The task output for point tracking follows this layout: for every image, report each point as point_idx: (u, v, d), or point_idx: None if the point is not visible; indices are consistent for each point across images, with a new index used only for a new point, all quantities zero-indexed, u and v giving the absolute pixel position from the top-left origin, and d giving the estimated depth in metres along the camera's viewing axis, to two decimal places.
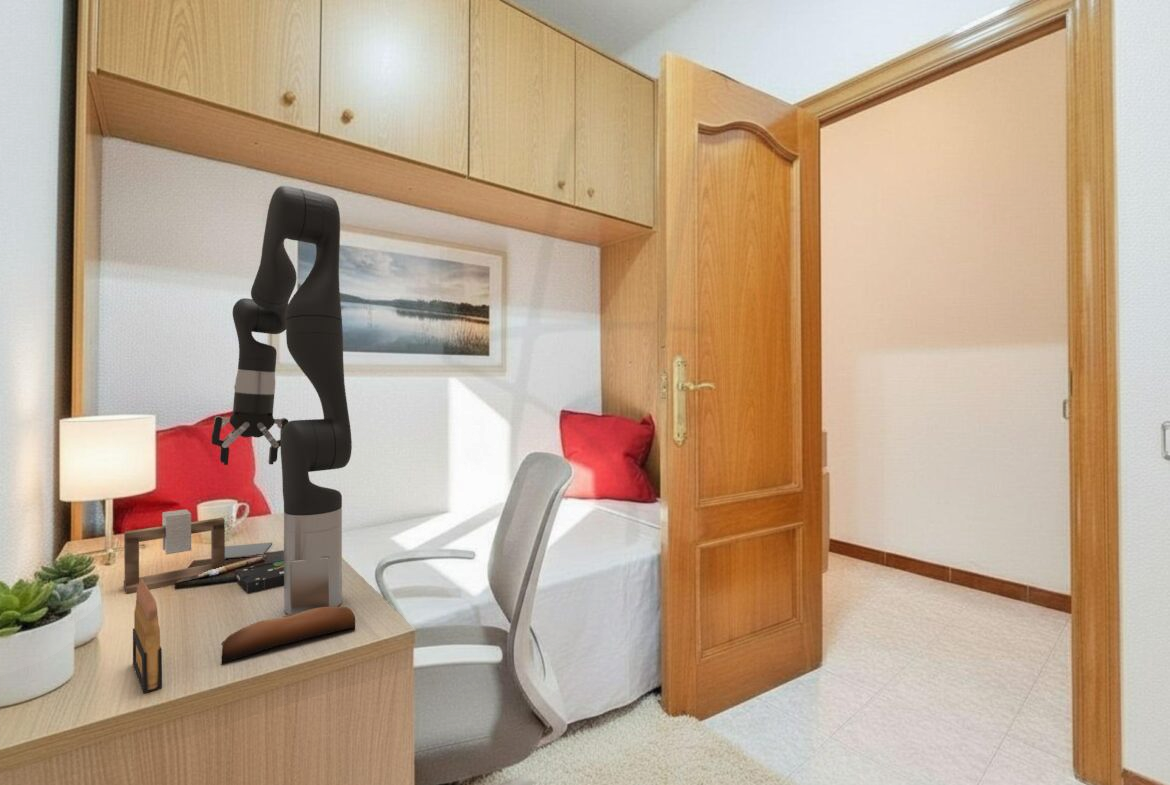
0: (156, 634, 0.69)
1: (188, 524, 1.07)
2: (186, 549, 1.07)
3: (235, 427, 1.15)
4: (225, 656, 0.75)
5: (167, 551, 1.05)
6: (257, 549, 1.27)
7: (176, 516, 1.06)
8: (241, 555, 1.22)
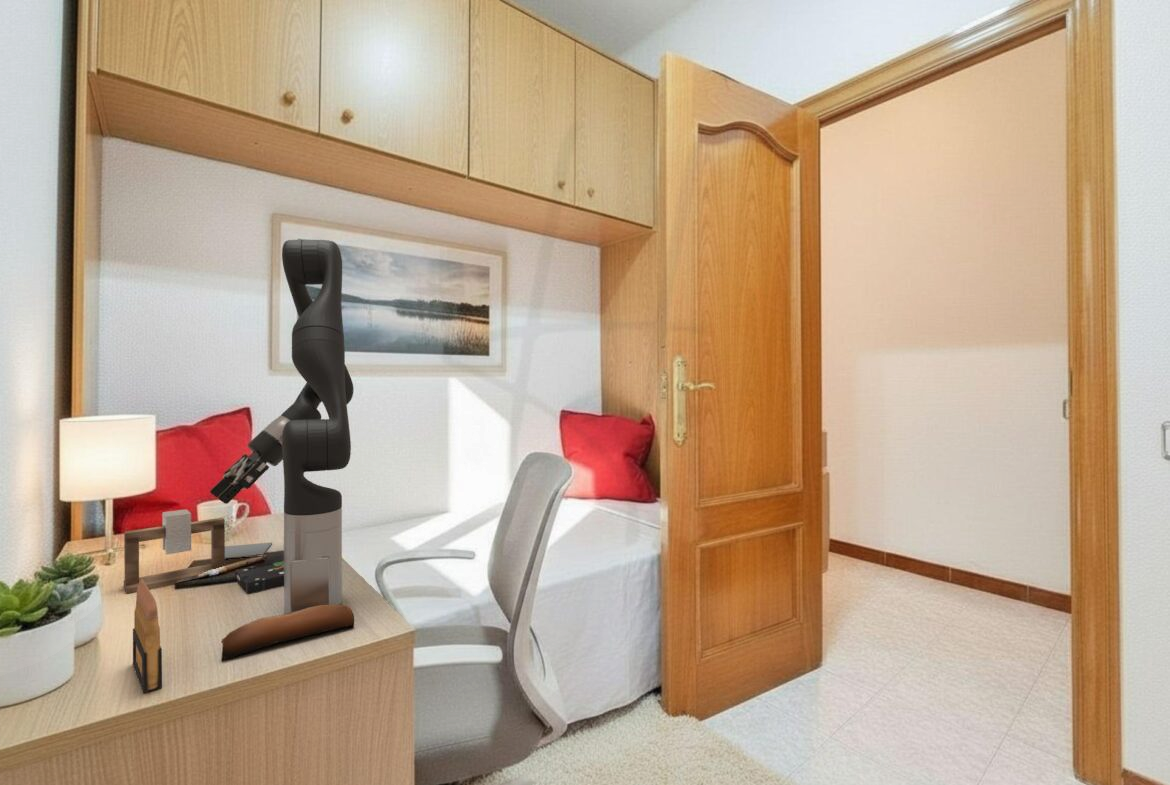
0: (156, 634, 0.69)
1: (188, 524, 1.07)
2: (186, 549, 1.07)
3: None
4: (225, 653, 0.76)
5: (167, 551, 1.05)
6: (257, 549, 1.27)
7: (176, 516, 1.06)
8: (241, 555, 1.22)
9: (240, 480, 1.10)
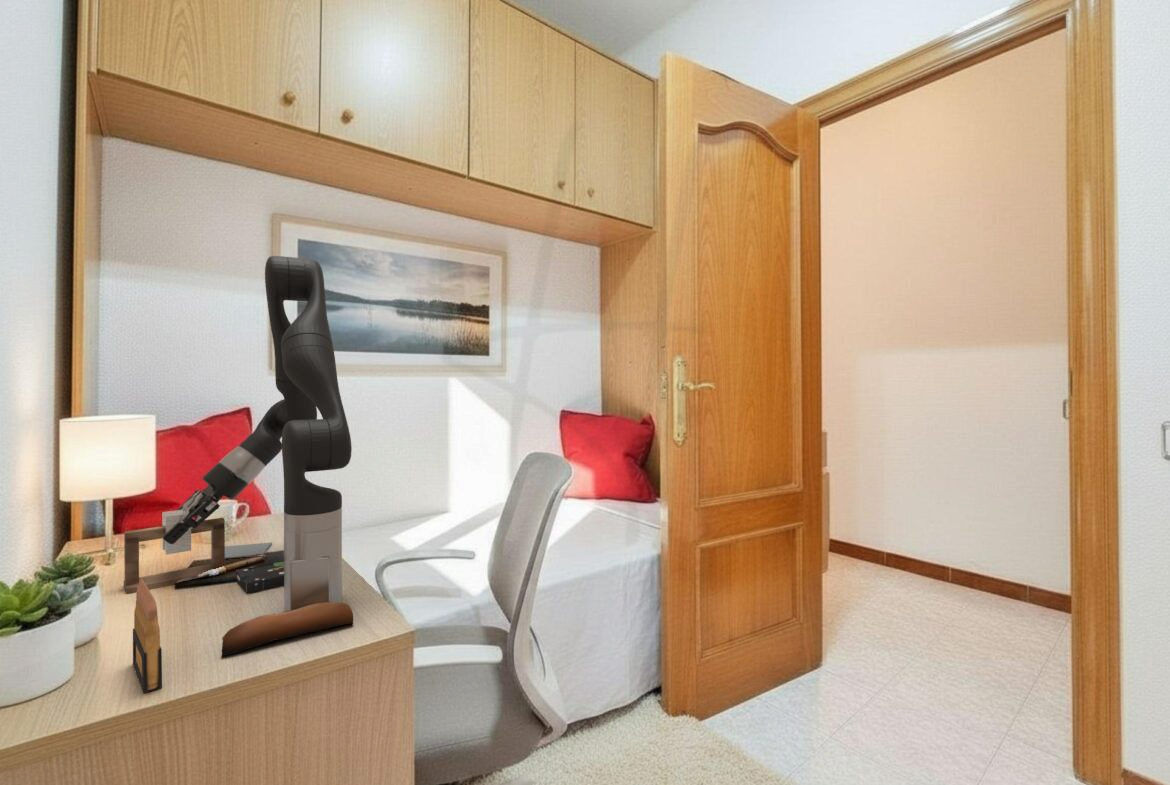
0: (156, 634, 0.69)
1: None
2: (186, 549, 1.07)
3: None
4: (225, 650, 0.77)
5: (167, 551, 1.05)
6: (257, 549, 1.27)
7: (176, 516, 1.06)
8: (241, 555, 1.22)
9: (186, 520, 1.05)
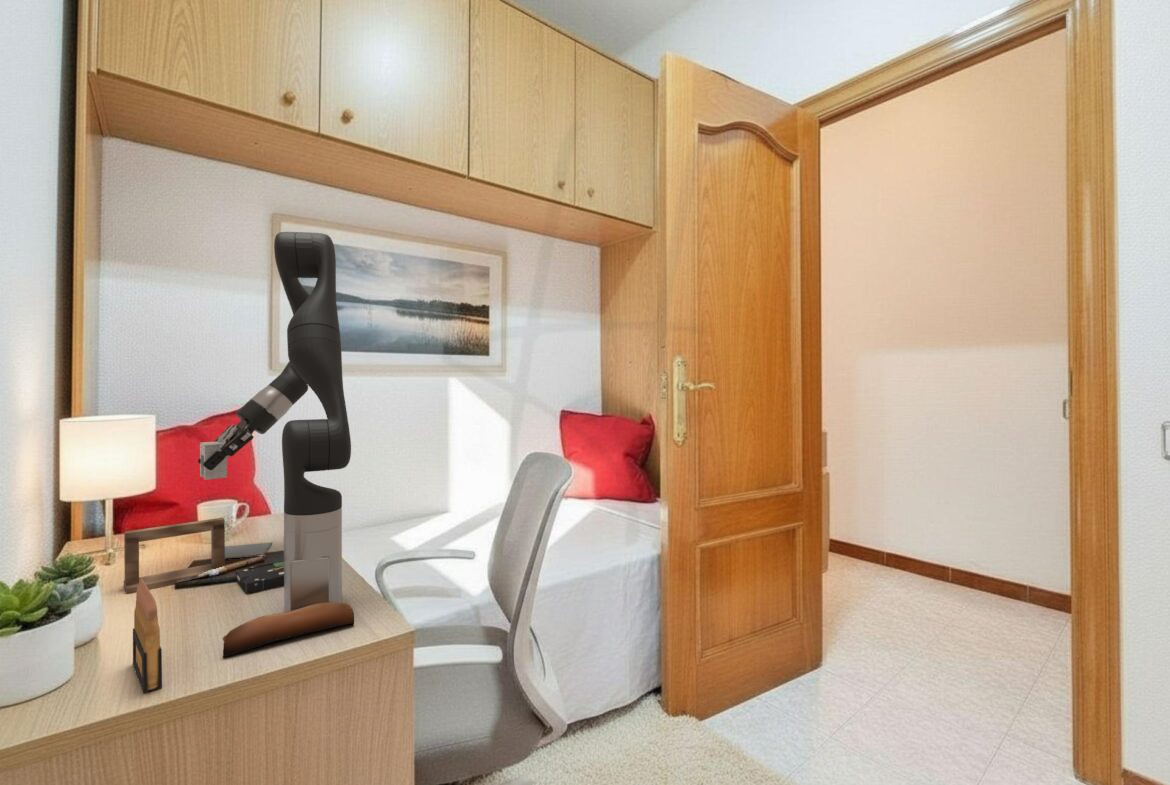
0: (156, 634, 0.69)
1: None
2: (222, 476, 1.17)
3: None
4: (226, 651, 0.77)
5: (206, 476, 1.15)
6: (257, 549, 1.27)
7: (214, 445, 1.16)
8: (241, 555, 1.22)
9: (224, 448, 1.14)
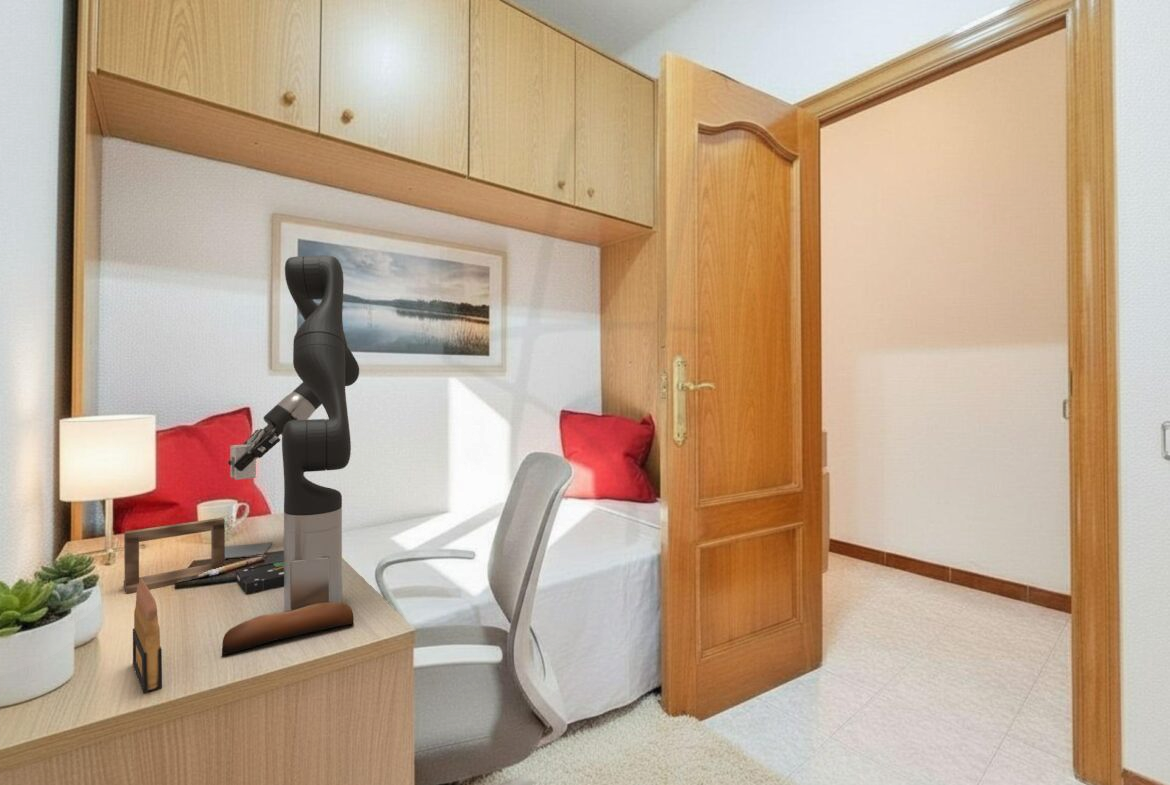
0: (156, 634, 0.69)
1: None
2: (251, 476, 1.25)
3: None
4: (225, 649, 0.77)
5: (236, 477, 1.23)
6: (257, 549, 1.27)
7: (244, 447, 1.24)
8: (241, 555, 1.22)
9: (253, 450, 1.22)
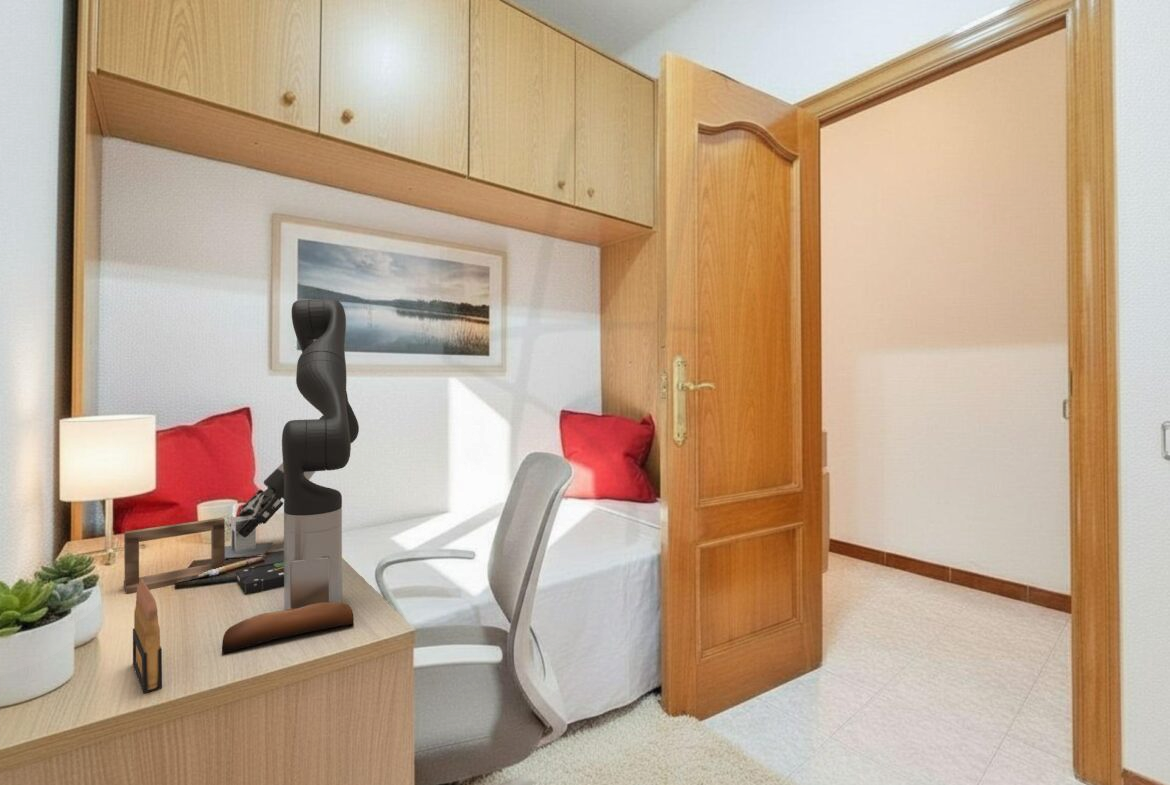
0: (156, 634, 0.69)
1: None
2: (251, 549, 1.25)
3: None
4: (225, 647, 0.78)
5: (236, 551, 1.23)
6: (257, 549, 1.27)
7: (243, 521, 1.24)
8: (241, 555, 1.22)
9: (258, 516, 1.22)
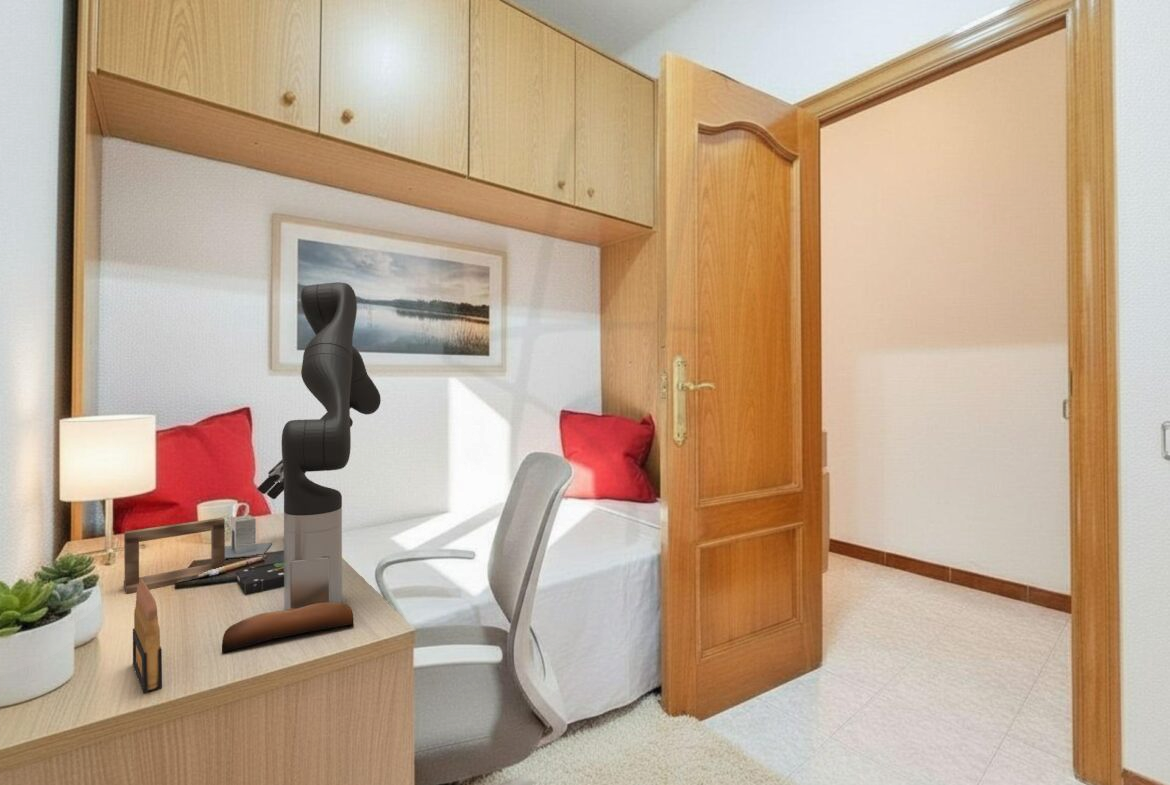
0: (156, 634, 0.69)
1: (253, 528, 1.25)
2: (251, 549, 1.25)
3: None
4: (224, 646, 0.78)
5: (236, 551, 1.23)
6: (257, 549, 1.27)
7: (243, 521, 1.24)
8: (241, 555, 1.22)
9: None
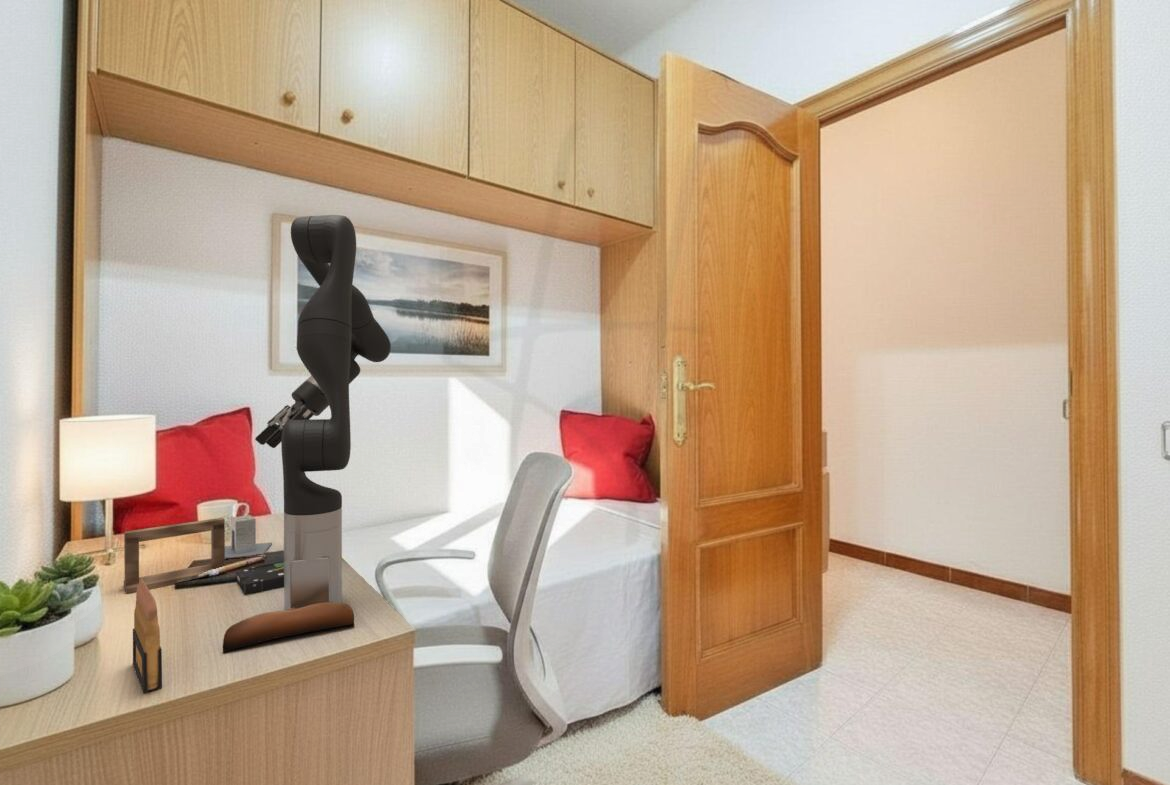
0: (156, 634, 0.69)
1: (253, 528, 1.25)
2: (251, 549, 1.25)
3: None
4: (225, 645, 0.78)
5: (236, 551, 1.23)
6: (257, 549, 1.27)
7: (243, 521, 1.24)
8: (241, 555, 1.22)
9: None
